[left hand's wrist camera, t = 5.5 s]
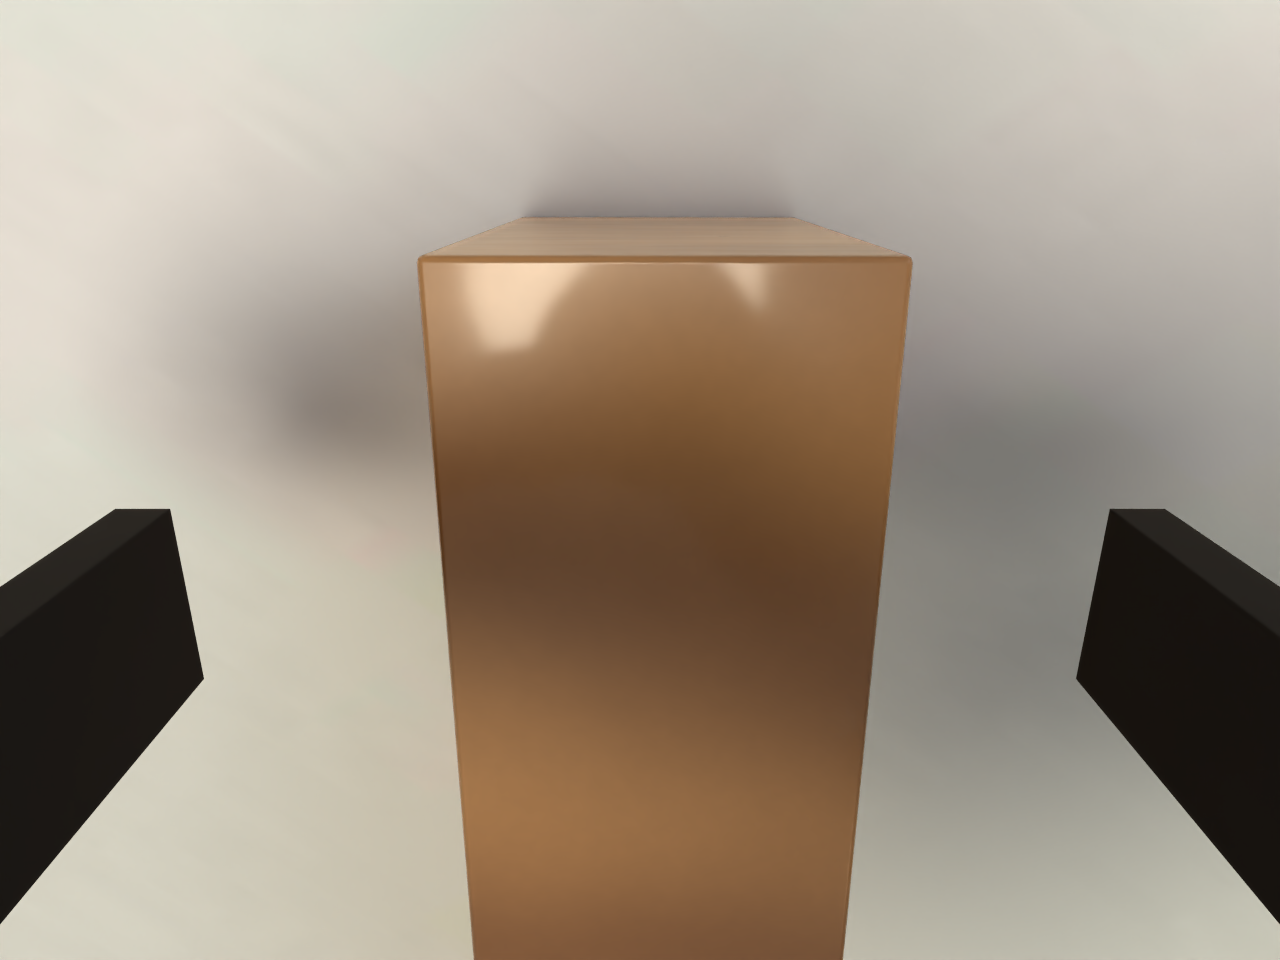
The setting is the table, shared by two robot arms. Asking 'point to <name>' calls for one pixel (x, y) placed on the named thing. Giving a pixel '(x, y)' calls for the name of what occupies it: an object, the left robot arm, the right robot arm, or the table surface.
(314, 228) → the table surface
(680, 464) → the beam
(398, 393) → the table surface
